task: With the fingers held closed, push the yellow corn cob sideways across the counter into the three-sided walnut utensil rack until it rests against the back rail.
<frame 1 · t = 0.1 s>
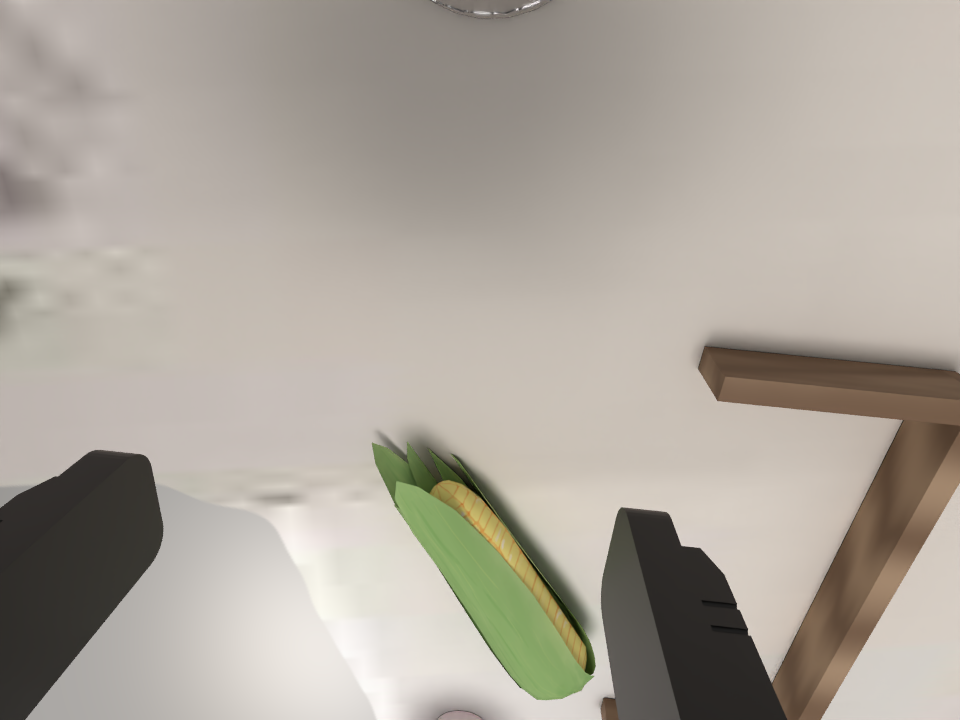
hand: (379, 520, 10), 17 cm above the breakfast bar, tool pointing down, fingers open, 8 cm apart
edible corn: (496, 540, 33), on the breakfast bar
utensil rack: (746, 574, 32), on the breakfast bar
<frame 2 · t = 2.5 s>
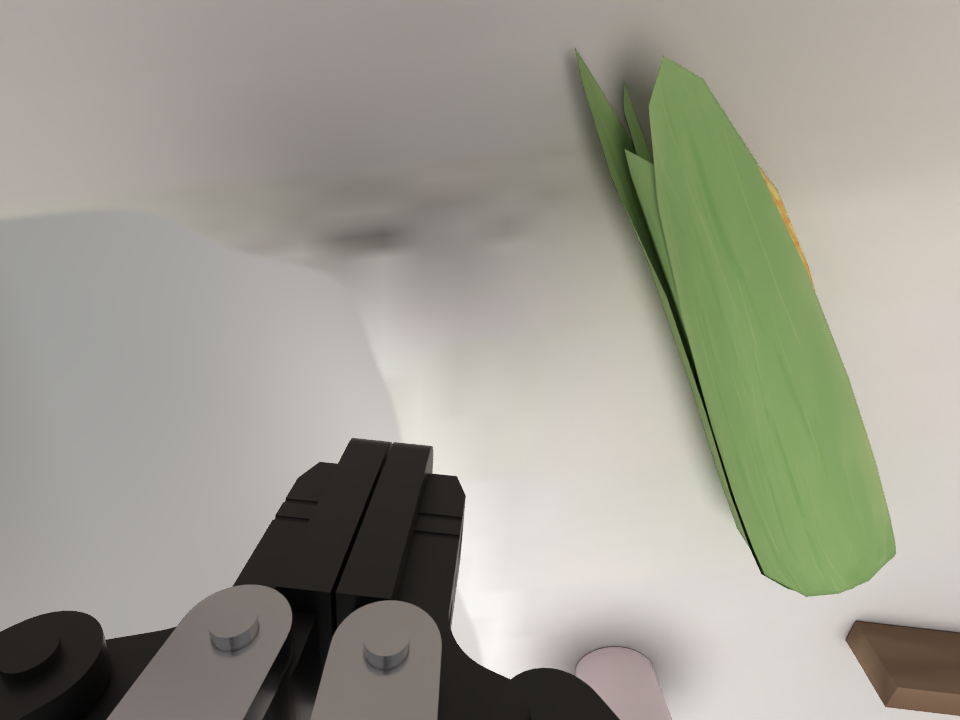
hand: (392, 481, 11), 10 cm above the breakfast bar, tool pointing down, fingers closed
edible corn: (728, 319, 19), on the breakfast bar
smoothie: (613, 669, 27), on the breakfast bar
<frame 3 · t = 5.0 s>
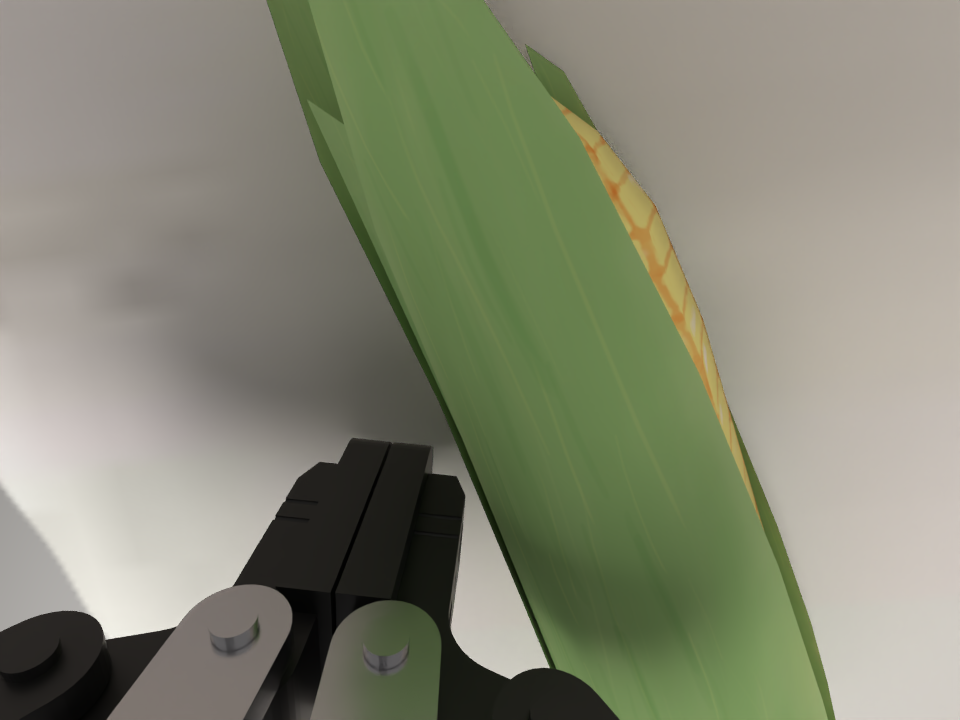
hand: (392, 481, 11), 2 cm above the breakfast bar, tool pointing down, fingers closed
edible corn: (605, 414, 12), on the breakfast bar, touching gripper
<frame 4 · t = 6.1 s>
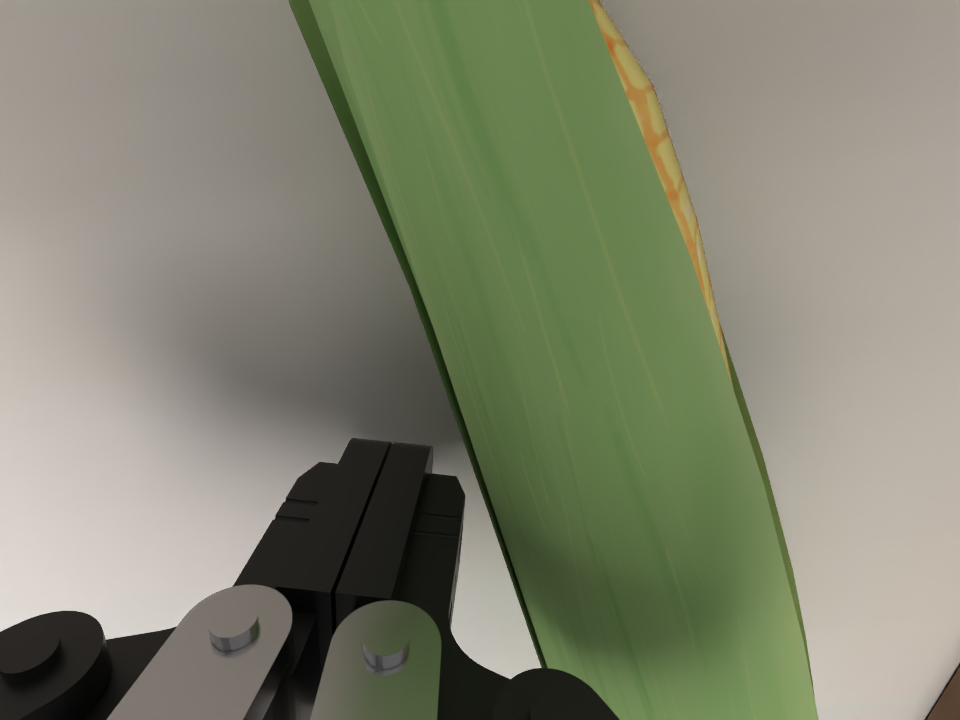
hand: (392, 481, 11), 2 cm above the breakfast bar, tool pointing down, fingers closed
edible corn: (588, 347, 11), on the breakfast bar, touching gripper
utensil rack: (849, 473, 12), on the breakfast bar
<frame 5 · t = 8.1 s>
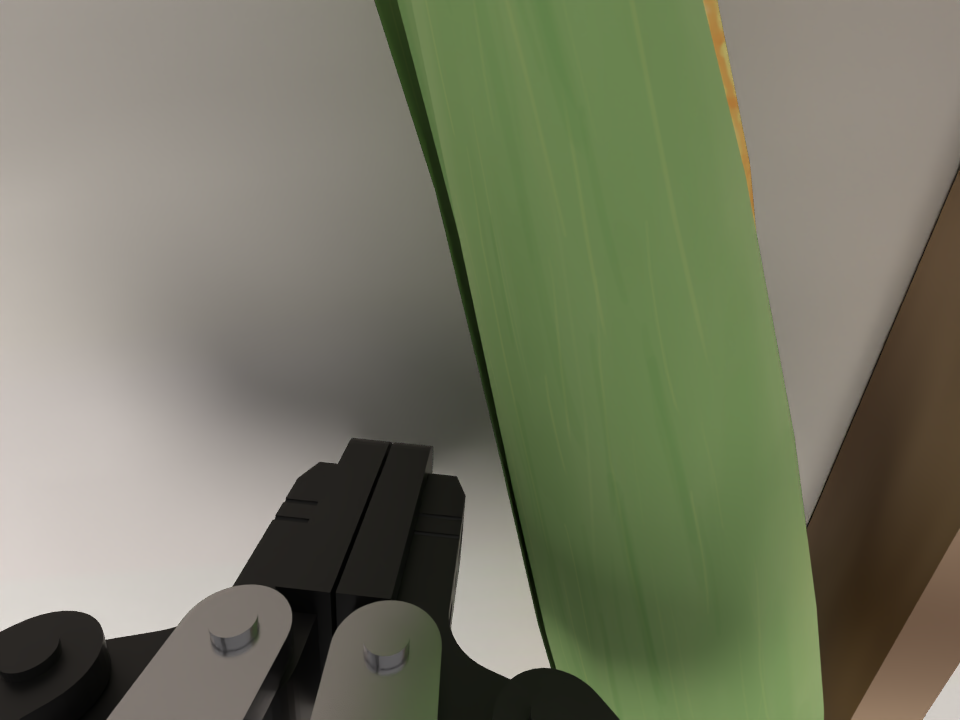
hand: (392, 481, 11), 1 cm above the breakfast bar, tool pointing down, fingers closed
edible corn: (605, 299, 11), on the breakfast bar
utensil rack: (614, 467, 12), on the breakfast bar
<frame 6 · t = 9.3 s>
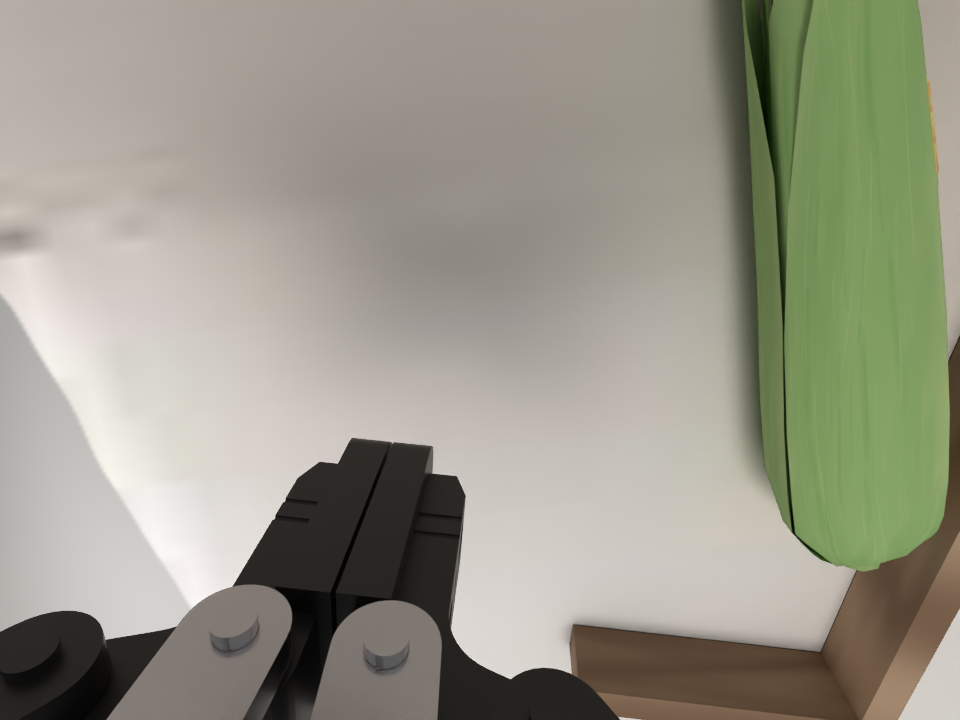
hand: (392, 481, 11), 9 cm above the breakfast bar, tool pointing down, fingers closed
edible corn: (802, 252, 18), on the breakfast bar
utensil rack: (806, 365, 19), on the breakfast bar
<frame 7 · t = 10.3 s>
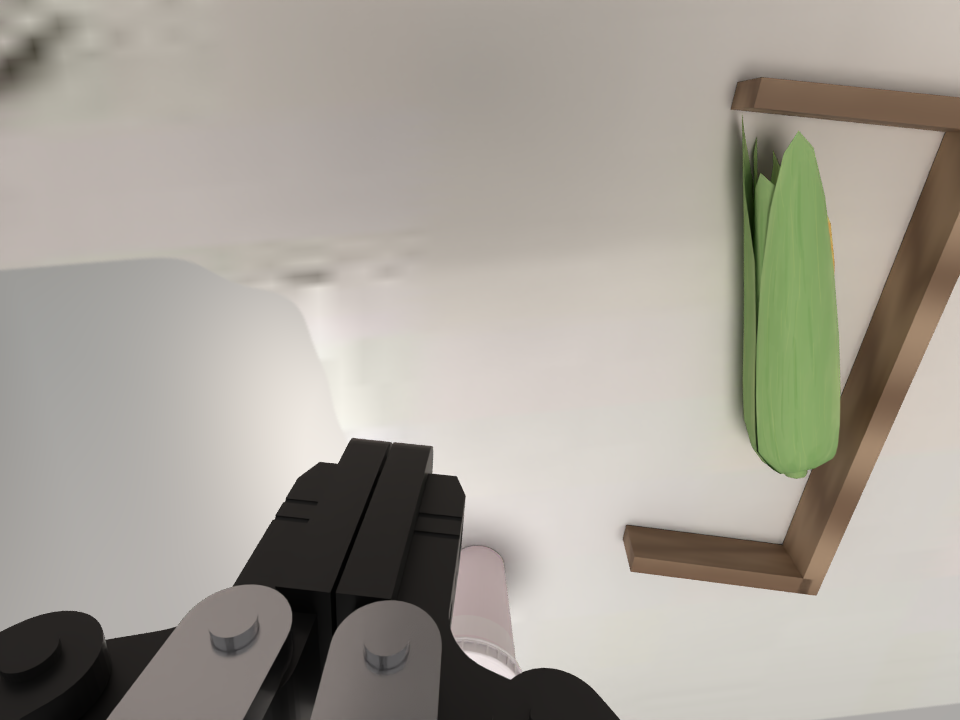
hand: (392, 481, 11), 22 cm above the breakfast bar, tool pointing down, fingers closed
edible corn: (770, 296, 31), on the breakfast bar
smoothie: (478, 564, 40), on the breakfast bar
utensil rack: (774, 361, 32), on the breakfast bar
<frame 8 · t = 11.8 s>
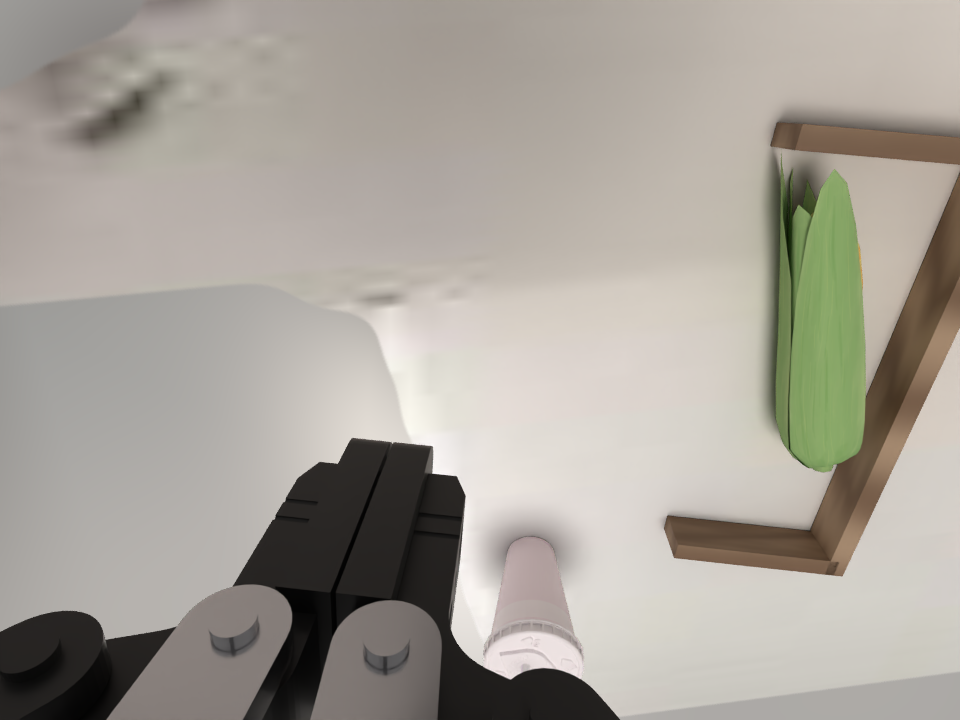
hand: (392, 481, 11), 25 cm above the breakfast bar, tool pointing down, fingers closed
edible corn: (800, 308, 34), on the breakfast bar
smoothie: (530, 553, 44), on the breakfast bar
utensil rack: (805, 367, 36), on the breakfast bar
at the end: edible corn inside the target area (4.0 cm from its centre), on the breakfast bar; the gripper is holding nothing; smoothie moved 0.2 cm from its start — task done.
